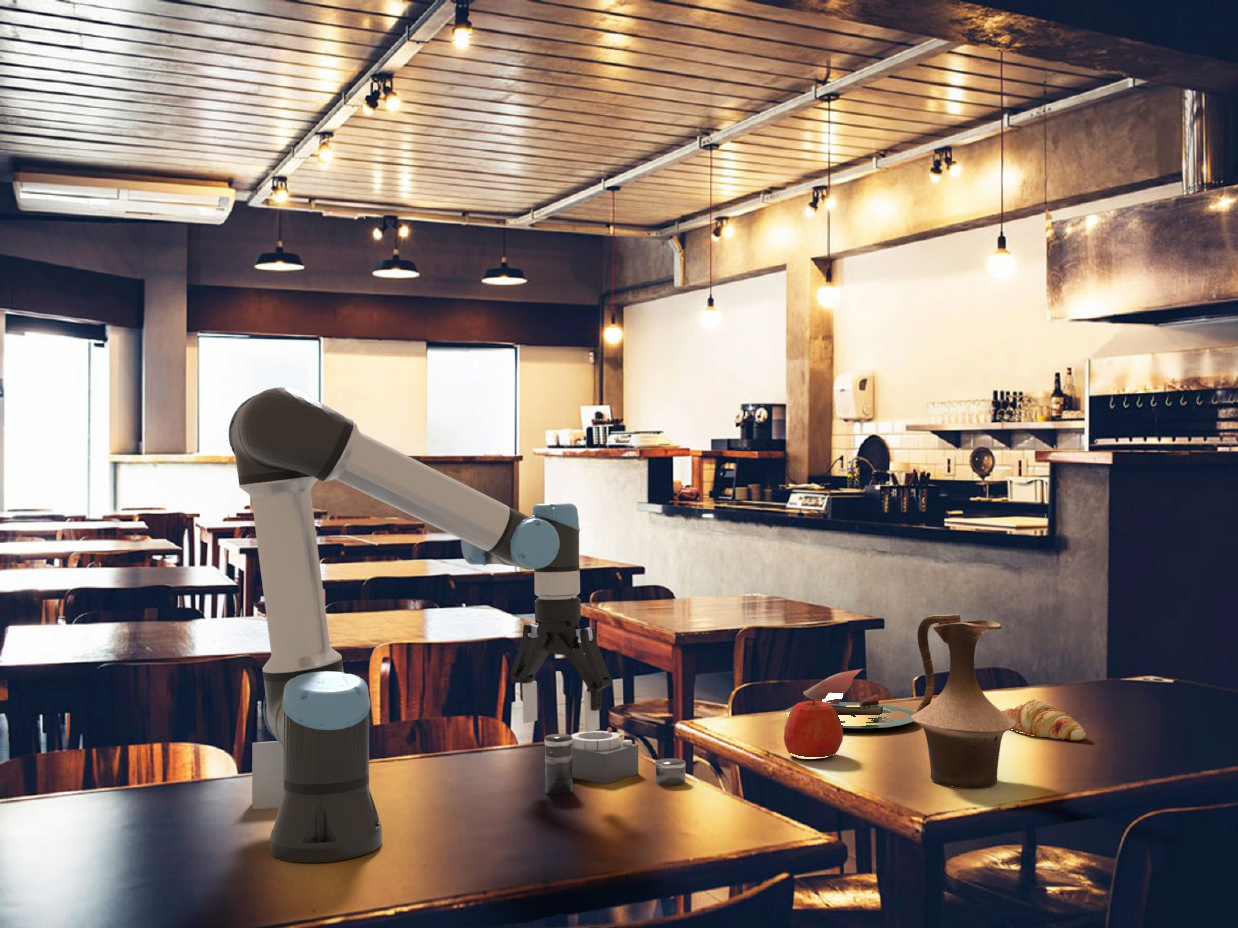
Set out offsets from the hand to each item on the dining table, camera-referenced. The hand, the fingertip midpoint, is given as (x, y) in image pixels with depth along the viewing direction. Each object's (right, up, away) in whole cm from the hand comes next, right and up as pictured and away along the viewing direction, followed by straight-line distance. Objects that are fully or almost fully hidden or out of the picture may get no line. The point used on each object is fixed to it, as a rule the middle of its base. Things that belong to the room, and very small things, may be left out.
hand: (560, 725), depth 192 cm
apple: (+46, -11, +23) cm, 52 cm away
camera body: (+6, -11, +12) cm, 17 cm away
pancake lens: (+18, -11, +5) cm, 22 cm away
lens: (0, -11, 0) cm, 11 cm away
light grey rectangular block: (-45, -11, -7) cm, 47 cm away
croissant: (+94, -11, +42) cm, 104 cm away
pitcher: (+68, -11, +4) cm, 68 cm away
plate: (+59, -12, +56) cm, 82 cm away
